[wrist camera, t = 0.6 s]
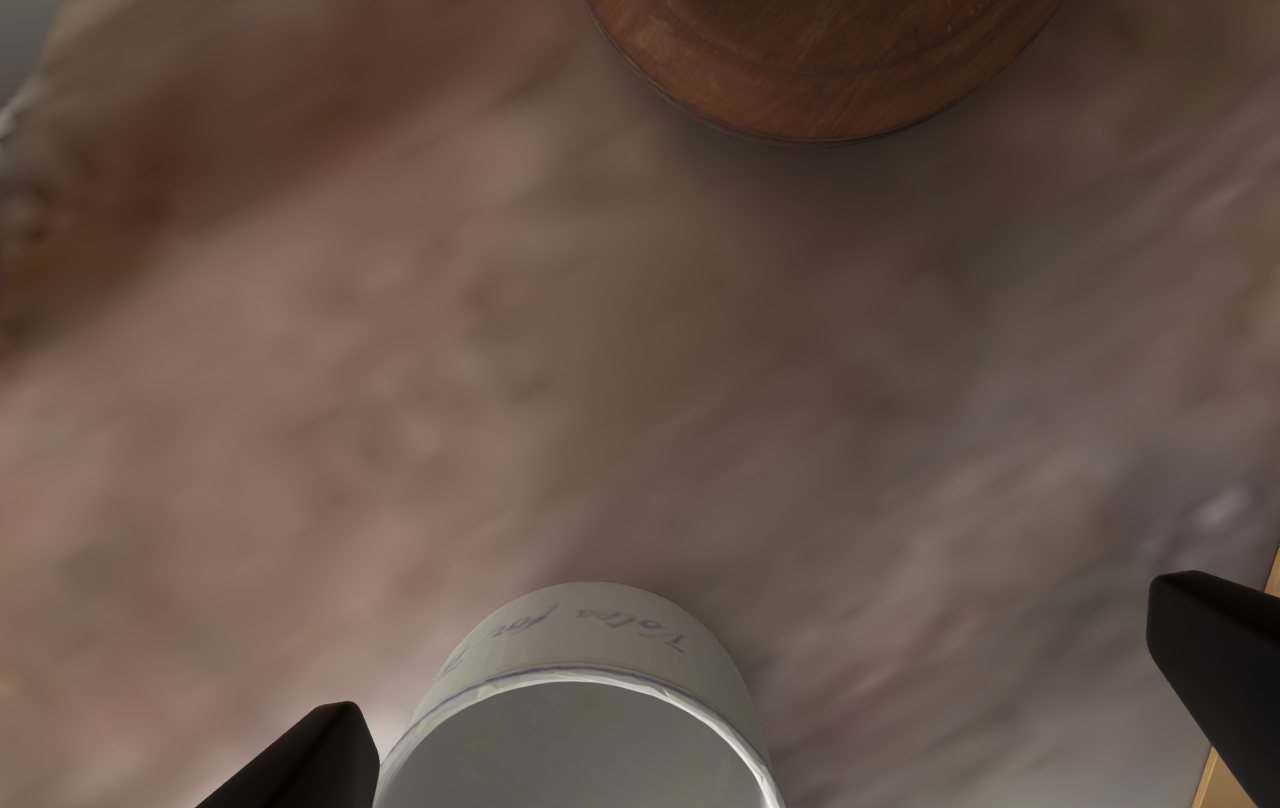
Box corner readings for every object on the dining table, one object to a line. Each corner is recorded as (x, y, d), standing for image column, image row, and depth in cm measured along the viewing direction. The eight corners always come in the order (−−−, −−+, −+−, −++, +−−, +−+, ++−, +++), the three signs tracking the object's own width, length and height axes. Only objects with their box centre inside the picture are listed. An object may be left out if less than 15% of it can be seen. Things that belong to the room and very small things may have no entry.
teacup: (690, 501, 23) (699, 605, 15) (804, 777, 25) (867, 1004, 17) (324, 642, 25) (160, 804, 17) (451, 896, 26) (354, 1158, 18)
